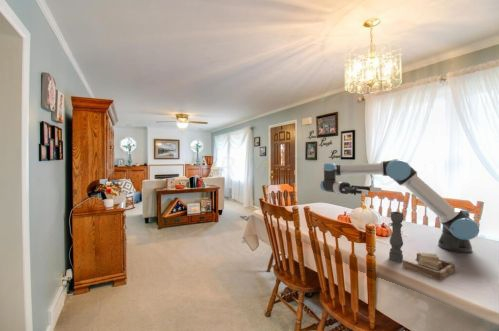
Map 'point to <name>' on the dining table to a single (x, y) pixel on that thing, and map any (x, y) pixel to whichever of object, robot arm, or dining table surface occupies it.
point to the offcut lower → (431, 264)
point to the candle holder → (396, 237)
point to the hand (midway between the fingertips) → (374, 191)
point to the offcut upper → (428, 257)
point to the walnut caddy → (435, 274)
